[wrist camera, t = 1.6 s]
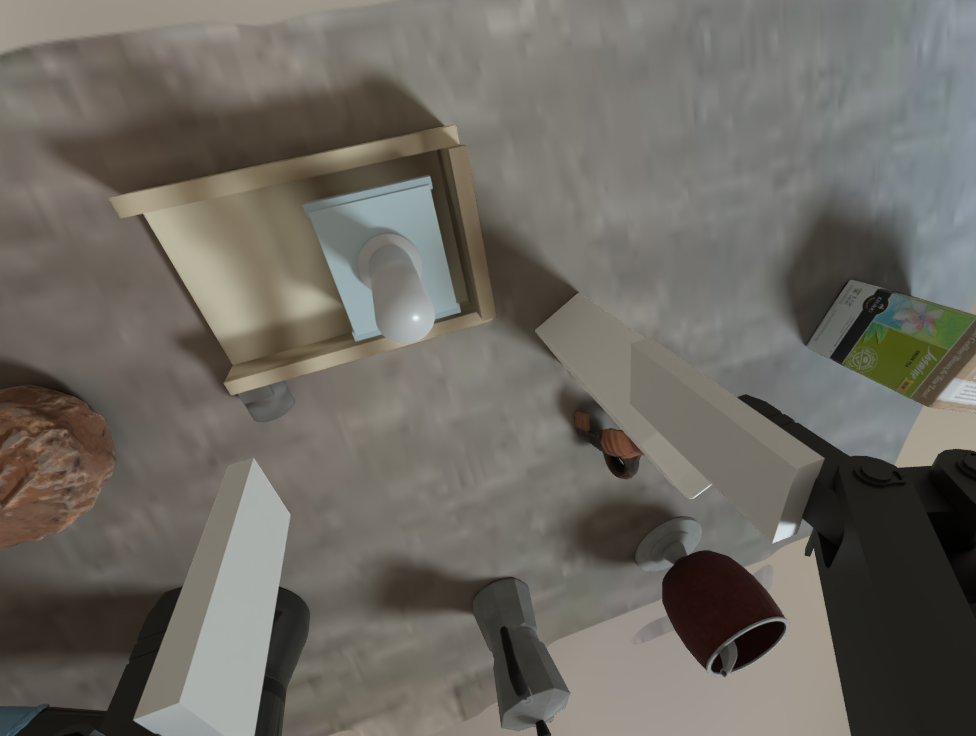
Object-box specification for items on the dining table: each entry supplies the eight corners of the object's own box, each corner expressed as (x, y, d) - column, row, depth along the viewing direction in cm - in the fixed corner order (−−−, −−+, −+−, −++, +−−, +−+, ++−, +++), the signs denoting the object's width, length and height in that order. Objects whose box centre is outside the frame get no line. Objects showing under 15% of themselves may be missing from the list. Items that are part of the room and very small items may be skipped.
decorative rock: (29, 506, 37) (-65, 616, 29) (-109, 416, 31) (-280, 522, 22) (171, 444, 38) (120, 532, 29) (63, 344, 32) (-39, 420, 23)
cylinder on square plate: (355, 317, 36) (356, 417, 23) (308, 195, 30) (278, 239, 18) (448, 292, 37) (498, 374, 24) (419, 170, 32) (464, 195, 19)
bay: (257, 403, 38) (242, 444, 33) (132, 191, 28) (85, 203, 23) (486, 336, 42) (505, 364, 36) (445, 125, 32) (462, 124, 27)
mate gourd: (718, 517, 71) (832, 637, 54) (672, 572, 75) (763, 698, 59) (655, 507, 64) (762, 640, 47) (608, 568, 69) (691, 709, 52)
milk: (533, 329, 43) (669, 479, 24) (579, 290, 42) (755, 413, 23) (563, 365, 46) (703, 521, 27) (606, 329, 45) (780, 464, 27)
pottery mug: (565, 390, 49) (629, 403, 42) (611, 366, 54) (673, 374, 48) (576, 480, 52) (636, 503, 46) (618, 448, 58) (677, 465, 51)
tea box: (801, 348, 56) (930, 410, 43) (847, 277, 52) (1003, 322, 39) (868, 361, 61) (998, 419, 49) (914, 297, 57) (1069, 342, 45)
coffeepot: (537, 603, 68) (590, 738, 53) (485, 629, 67) (523, 773, 52) (512, 552, 59) (566, 695, 44) (451, 581, 59) (486, 736, 44)
